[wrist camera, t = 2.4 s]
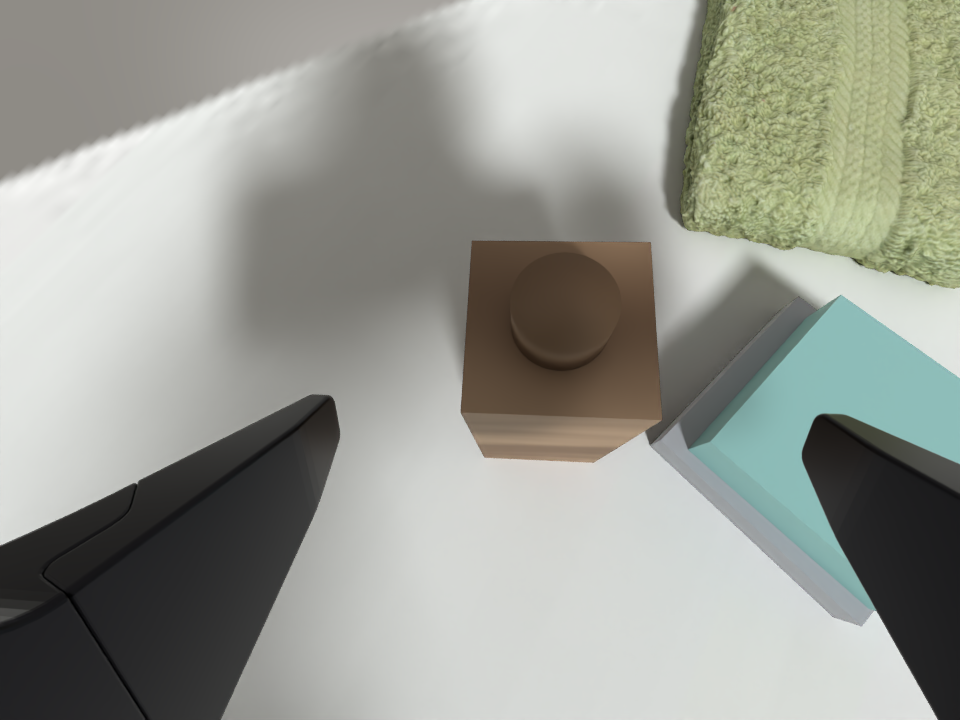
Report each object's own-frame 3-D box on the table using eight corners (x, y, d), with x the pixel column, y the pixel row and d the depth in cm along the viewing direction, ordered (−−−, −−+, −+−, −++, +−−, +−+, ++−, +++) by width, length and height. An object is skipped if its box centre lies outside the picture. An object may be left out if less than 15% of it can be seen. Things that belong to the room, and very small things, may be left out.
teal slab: (868, 608, 15) (920, 623, 13) (687, 449, 17) (709, 441, 15) (986, 450, 16) (1050, 442, 14) (806, 317, 18) (840, 294, 16)
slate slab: (821, 613, 17) (861, 626, 15) (645, 447, 19) (660, 440, 17) (949, 454, 18) (1001, 447, 16) (771, 316, 20) (798, 296, 18)
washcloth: (971, 5, 24) (1037, -68, 21) (969, 310, 19) (1053, 272, 16) (709, -29, 26) (735, -100, 23) (647, 240, 21) (670, 194, 18)
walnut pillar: (593, 462, 18) (682, 408, 9) (484, 457, 18) (453, 400, 9) (591, 358, 19) (666, 211, 10) (489, 355, 20) (467, 210, 10)
